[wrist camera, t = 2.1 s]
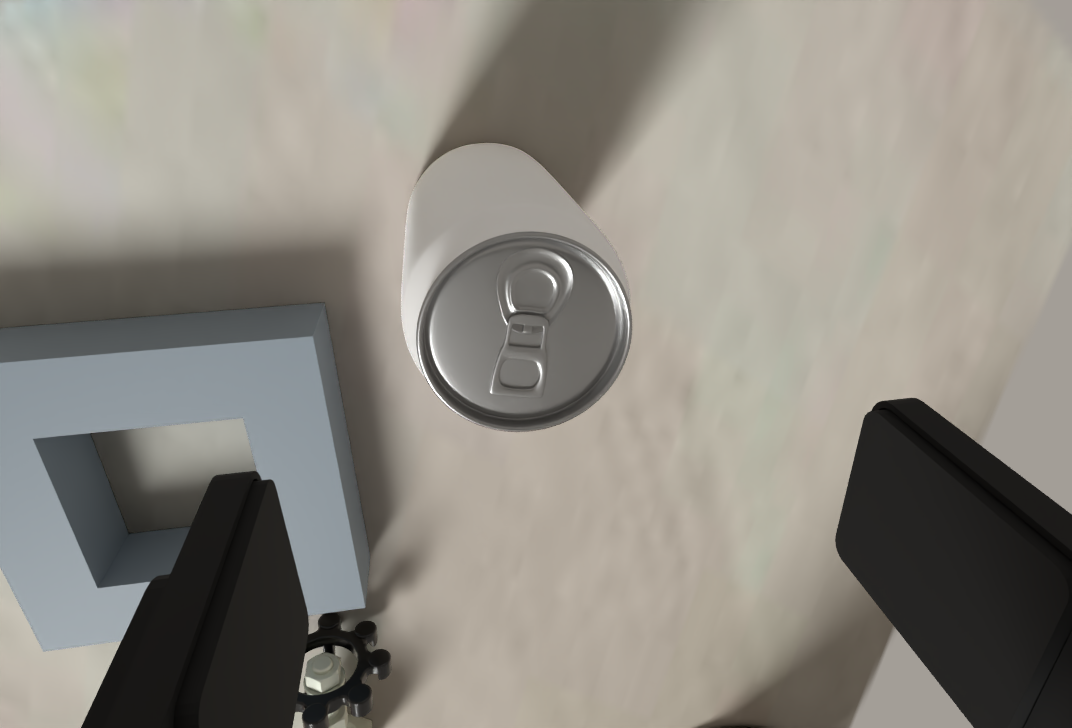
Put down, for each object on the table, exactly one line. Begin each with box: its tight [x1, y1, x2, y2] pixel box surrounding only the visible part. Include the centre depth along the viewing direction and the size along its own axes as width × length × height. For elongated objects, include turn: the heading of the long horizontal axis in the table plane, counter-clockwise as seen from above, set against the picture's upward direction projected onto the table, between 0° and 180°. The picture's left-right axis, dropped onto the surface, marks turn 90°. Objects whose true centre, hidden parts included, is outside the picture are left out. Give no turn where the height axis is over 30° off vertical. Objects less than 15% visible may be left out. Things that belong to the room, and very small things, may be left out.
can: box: [401, 143, 632, 432], centre depth 22 cm, size 6×6×12 cm
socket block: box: [0, 303, 370, 652], centre depth 29 cm, size 14×14×4 cm
